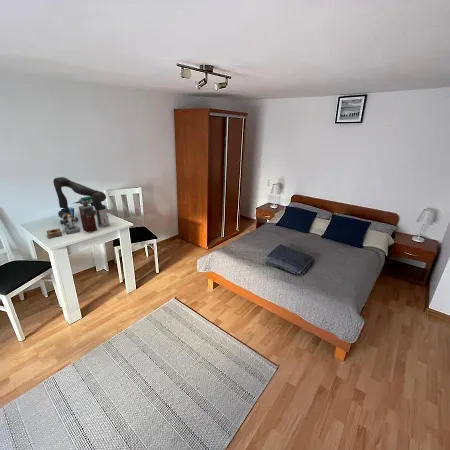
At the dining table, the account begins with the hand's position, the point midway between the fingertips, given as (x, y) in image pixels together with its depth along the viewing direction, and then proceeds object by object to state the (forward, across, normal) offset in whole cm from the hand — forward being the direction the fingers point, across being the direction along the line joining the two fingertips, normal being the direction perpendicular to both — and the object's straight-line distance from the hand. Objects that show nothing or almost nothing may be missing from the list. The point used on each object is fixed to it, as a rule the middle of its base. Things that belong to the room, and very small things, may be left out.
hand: (70, 222), depth 220 cm
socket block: (-2, 0, +9) cm, 9 cm away
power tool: (-42, +25, +9) cm, 50 cm away
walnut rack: (-1, -14, +9) cm, 17 cm away
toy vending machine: (+5, +14, +9) cm, 17 cm away
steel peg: (-2, 0, +9) cm, 9 cm away
